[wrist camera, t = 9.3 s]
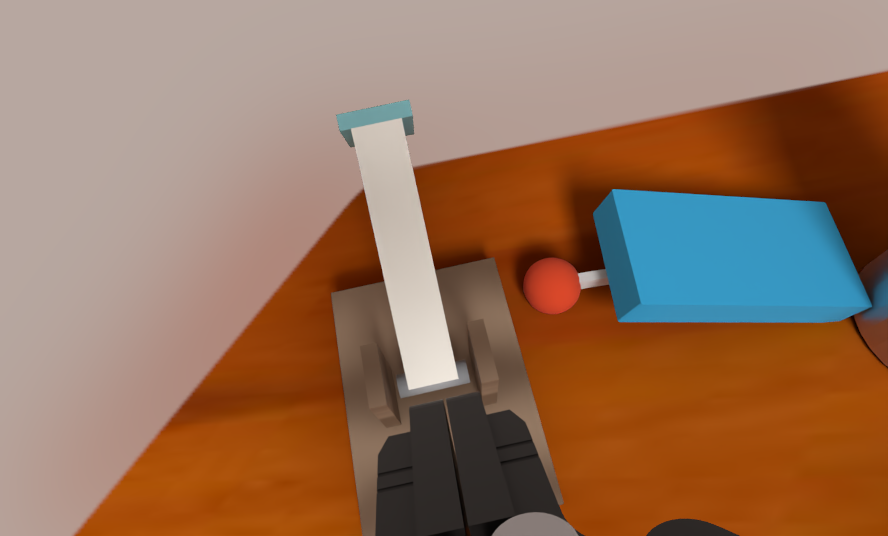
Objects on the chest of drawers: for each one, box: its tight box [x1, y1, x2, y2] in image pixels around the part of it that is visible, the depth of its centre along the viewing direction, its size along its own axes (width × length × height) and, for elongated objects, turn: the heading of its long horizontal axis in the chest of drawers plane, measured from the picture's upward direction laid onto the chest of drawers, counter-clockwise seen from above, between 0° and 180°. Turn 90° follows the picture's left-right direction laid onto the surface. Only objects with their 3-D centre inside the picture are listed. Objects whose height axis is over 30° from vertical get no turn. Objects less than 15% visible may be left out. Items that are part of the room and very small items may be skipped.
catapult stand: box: [331, 257, 564, 536], centre depth 29 cm, size 14×10×7 cm
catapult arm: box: [336, 100, 470, 398], centre depth 29 cm, size 4×4×14 cm
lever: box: [523, 189, 872, 322], centre depth 33 cm, size 7×7×18 cm
